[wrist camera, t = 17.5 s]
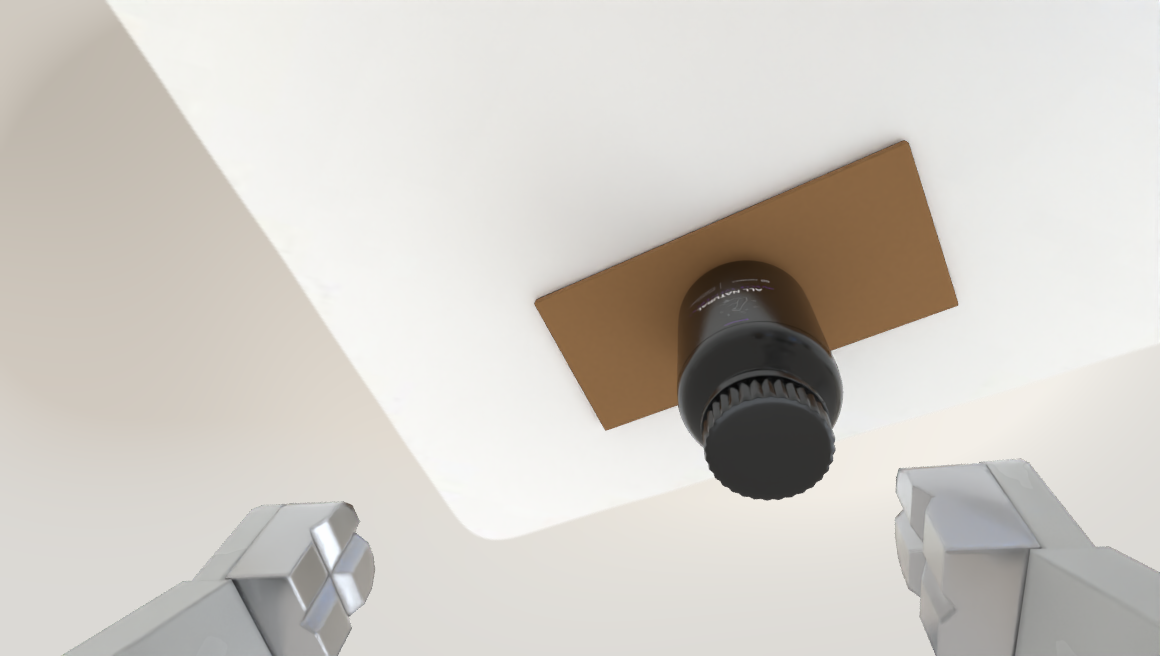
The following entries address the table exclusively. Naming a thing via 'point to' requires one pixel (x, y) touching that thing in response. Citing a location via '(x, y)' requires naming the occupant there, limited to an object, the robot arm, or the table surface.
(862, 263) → the cork mat
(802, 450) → the supplement bottle
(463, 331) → the table surface
